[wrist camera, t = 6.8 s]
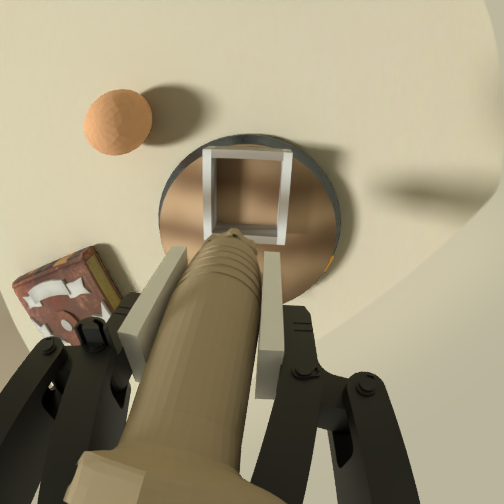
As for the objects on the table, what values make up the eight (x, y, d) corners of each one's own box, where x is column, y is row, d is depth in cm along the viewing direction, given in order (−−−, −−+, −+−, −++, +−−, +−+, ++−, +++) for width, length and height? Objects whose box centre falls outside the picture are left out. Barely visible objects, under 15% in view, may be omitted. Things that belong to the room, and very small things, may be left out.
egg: (161, 149, 30) (128, 162, 23) (109, 150, 31) (68, 163, 23) (164, 89, 27) (131, 83, 20) (110, 94, 27) (68, 93, 20)
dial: (161, 143, 29) (138, 150, 24) (343, 151, 28) (359, 160, 23) (172, 293, 38) (159, 321, 33) (319, 303, 37) (325, 334, 32)
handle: (298, 237, 16) (340, 546, 3) (231, 305, 19) (188, 544, 5) (231, 184, 15) (84, 511, 2) (170, 263, 18) (55, 497, 4)
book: (95, 241, 37) (77, 257, 33) (141, 323, 43) (130, 344, 39) (22, 273, 41) (8, 287, 37) (61, 334, 48) (50, 350, 43)
